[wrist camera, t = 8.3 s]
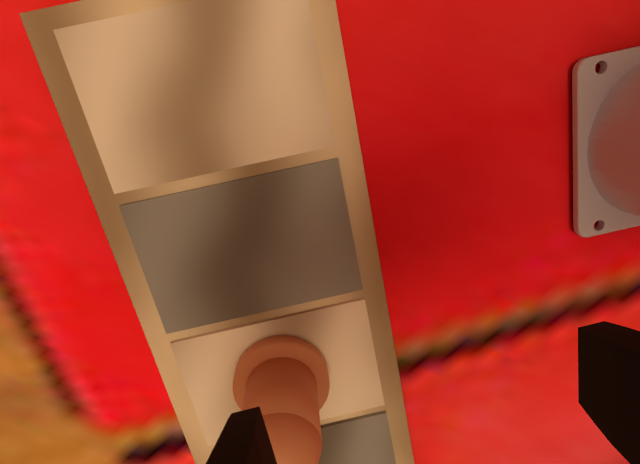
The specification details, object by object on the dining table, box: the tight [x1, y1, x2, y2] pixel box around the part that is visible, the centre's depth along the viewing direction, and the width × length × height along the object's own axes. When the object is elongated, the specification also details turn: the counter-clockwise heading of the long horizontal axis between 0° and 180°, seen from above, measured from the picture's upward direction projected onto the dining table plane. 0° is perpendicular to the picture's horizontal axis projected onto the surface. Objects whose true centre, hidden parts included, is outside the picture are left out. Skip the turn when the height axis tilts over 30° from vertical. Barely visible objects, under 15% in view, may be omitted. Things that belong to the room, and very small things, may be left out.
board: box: [19, 0, 414, 464], centre depth 19 cm, size 11×27×1 cm, turn 12°
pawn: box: [233, 335, 330, 464], centre depth 16 cm, size 4×4×6 cm
